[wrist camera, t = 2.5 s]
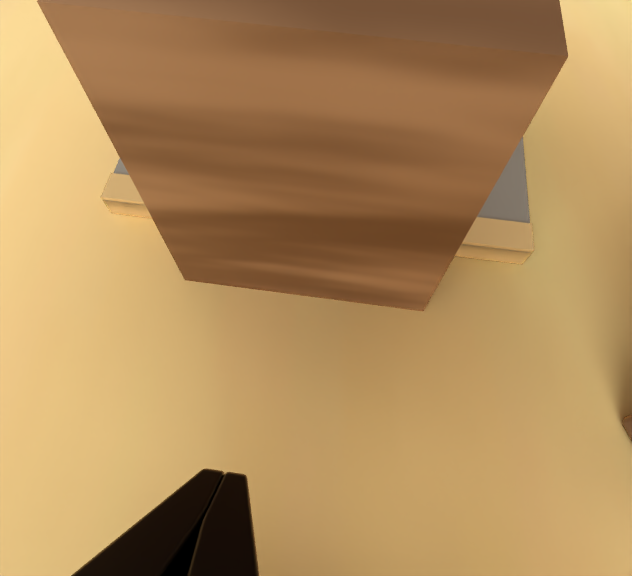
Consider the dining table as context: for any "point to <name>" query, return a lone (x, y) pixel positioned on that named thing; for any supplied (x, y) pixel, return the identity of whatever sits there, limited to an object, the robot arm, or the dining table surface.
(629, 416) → the wooden block
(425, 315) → the dining table surface
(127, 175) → the slate floor board
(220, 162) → the walnut plank
